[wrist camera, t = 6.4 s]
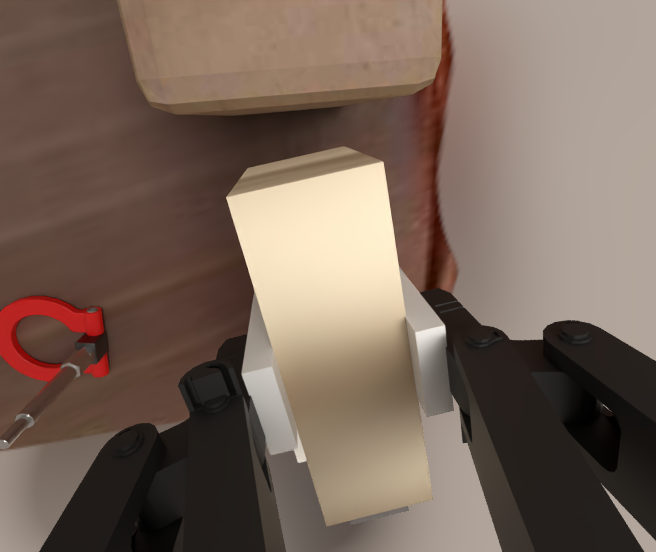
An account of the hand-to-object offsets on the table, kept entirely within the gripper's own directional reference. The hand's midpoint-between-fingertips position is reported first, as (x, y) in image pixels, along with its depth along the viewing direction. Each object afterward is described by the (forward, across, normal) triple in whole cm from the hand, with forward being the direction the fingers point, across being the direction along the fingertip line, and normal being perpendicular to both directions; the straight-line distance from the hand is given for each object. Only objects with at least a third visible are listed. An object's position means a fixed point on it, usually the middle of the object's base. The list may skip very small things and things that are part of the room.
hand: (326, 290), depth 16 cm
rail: (0, 0, -2) cm, 2 cm away
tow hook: (+19, -25, -7) cm, 32 cm away
